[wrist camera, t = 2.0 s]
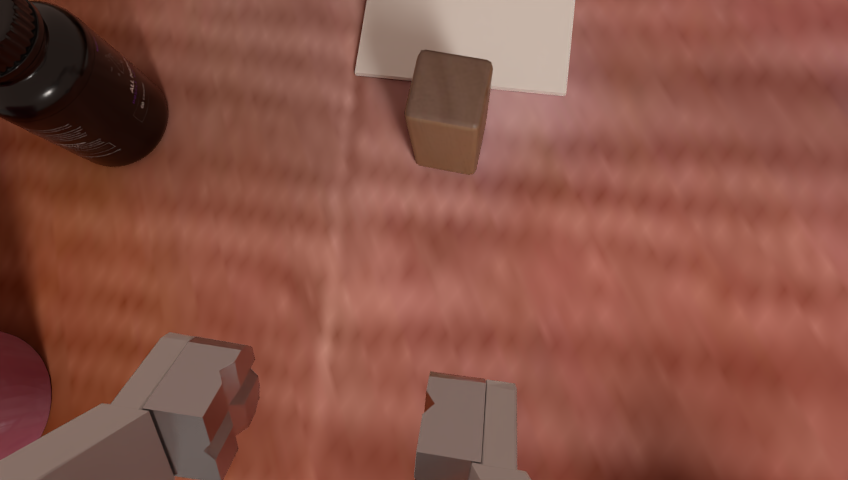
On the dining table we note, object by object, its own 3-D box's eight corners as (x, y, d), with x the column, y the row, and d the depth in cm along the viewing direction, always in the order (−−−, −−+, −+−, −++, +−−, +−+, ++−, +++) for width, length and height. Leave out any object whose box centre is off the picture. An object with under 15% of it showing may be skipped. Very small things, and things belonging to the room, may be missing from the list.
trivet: (564, 96, 35) (566, 93, 35) (355, 75, 36) (354, 72, 36) (580, -66, 37) (581, -70, 37) (381, -81, 38) (381, -85, 38)
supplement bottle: (191, 103, 37) (65, -8, 25) (134, 187, 36) (-25, 114, 24) (113, 58, 38) (-44, -68, 26) (56, 139, 37) (-134, 46, 25)
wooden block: (486, 120, 35) (495, 57, 27) (474, 177, 34) (479, 130, 27) (427, 109, 35) (418, 45, 28) (414, 166, 35) (401, 116, 27)
